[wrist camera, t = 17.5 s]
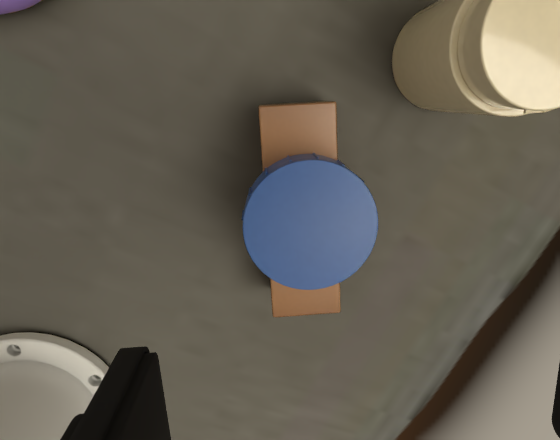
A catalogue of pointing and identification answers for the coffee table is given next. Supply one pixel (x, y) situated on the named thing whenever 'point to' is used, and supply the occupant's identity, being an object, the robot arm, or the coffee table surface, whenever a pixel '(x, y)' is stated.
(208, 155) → the coffee table surface
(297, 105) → the block
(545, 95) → the jar
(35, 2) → the donut
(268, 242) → the lid
